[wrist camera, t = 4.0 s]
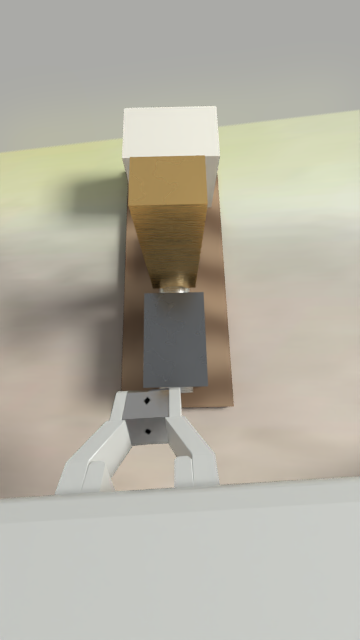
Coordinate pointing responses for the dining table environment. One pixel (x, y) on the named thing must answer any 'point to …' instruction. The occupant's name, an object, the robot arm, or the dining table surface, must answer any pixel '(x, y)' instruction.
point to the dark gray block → (174, 340)
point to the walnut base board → (214, 306)
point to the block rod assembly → (169, 219)
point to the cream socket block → (173, 136)
